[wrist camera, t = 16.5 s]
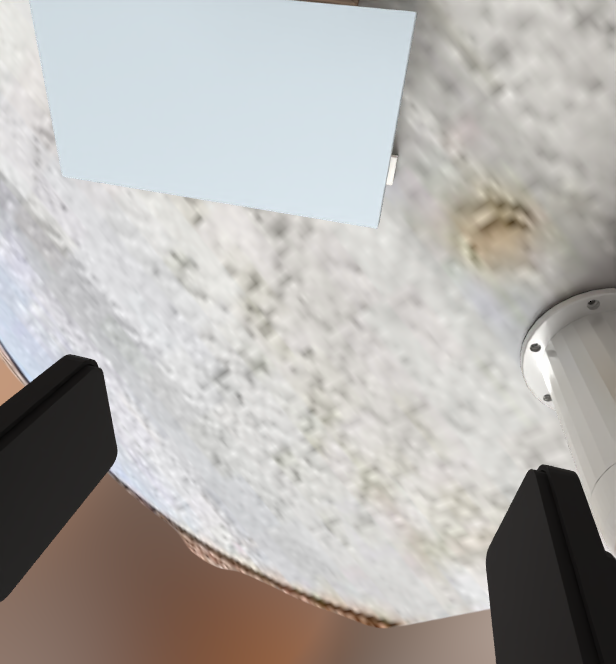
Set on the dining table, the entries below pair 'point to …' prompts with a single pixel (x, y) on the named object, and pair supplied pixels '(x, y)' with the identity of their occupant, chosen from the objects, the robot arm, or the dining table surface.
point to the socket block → (336, 2)
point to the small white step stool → (229, 99)
